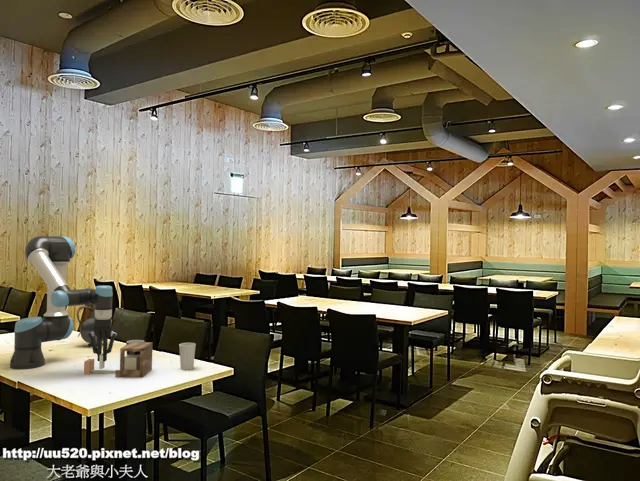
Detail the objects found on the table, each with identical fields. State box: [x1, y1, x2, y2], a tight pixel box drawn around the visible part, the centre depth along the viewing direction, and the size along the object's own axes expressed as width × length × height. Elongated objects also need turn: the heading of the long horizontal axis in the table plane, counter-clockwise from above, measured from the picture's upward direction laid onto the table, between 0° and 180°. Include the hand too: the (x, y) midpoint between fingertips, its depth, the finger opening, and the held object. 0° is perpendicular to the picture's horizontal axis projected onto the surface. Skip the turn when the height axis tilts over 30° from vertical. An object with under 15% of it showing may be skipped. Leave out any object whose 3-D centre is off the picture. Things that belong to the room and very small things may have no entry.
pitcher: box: [76, 304, 103, 348], centre depth 301 cm, size 11×19×30 cm, turn 140°
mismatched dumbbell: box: [83, 354, 140, 376], centre depth 239 cm, size 24×6×8 cm, turn 93°
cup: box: [178, 342, 197, 371], centre depth 251 cm, size 8×8×12 cm
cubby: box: [114, 341, 153, 378], centre depth 240 cm, size 12×15×13 cm
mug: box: [125, 339, 145, 356], centre depth 266 cm, size 12×9×10 cm
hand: (101, 368), depth 239 cm, fingers closed
